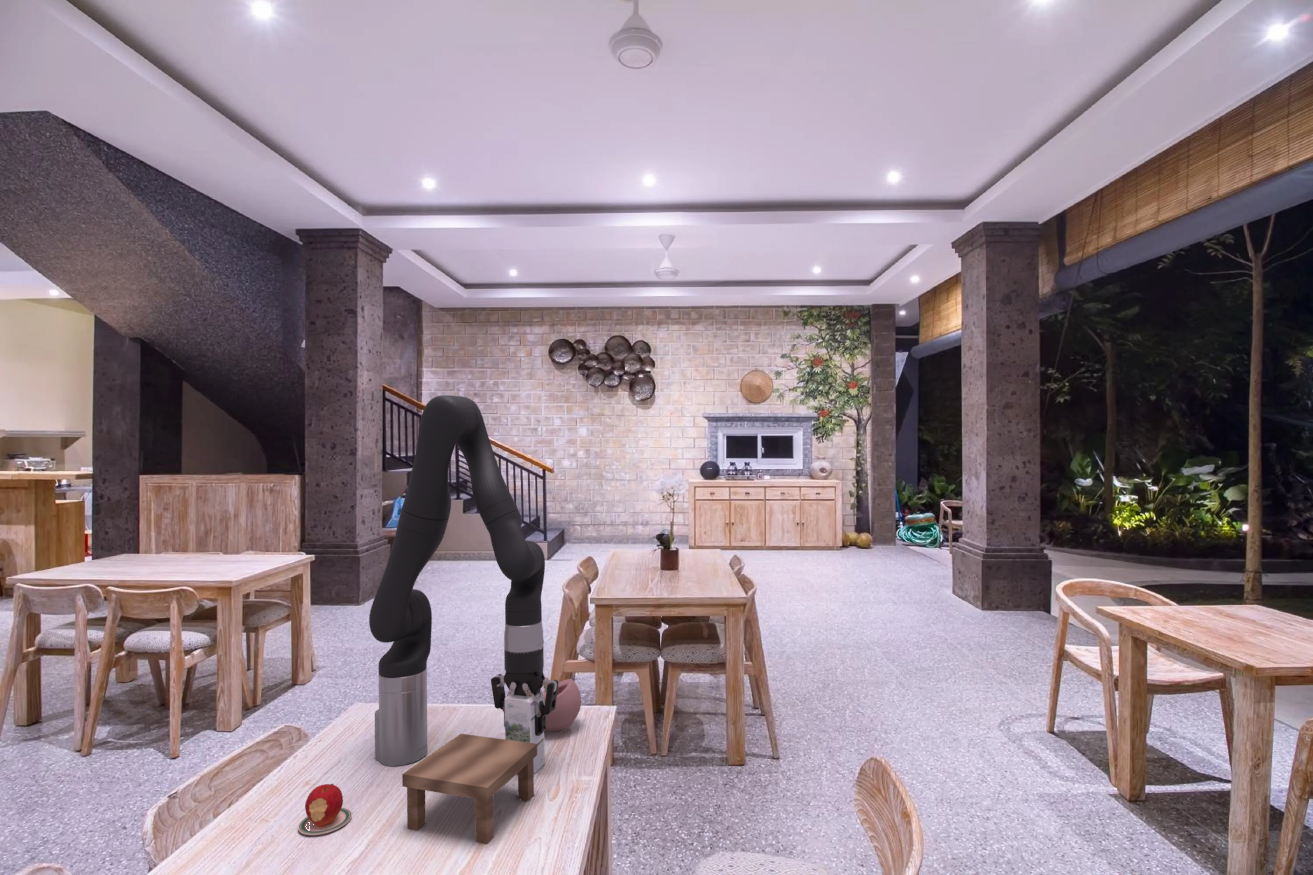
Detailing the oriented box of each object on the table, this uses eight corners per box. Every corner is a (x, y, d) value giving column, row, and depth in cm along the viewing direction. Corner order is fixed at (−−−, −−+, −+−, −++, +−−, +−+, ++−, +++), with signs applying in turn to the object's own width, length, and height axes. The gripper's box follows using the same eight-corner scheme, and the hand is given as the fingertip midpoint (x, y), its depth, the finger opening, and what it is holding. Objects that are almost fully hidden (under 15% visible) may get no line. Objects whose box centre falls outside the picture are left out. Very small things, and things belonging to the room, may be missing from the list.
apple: (358, 824, 107) (358, 784, 108) (305, 843, 102) (304, 802, 102) (343, 805, 113) (343, 767, 114) (292, 823, 108) (292, 783, 108)
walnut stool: (402, 829, 105) (402, 773, 106) (461, 782, 120) (460, 733, 121) (487, 846, 100) (487, 787, 101) (537, 794, 115) (537, 743, 116)
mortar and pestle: (531, 719, 149) (530, 669, 149) (583, 717, 150) (582, 667, 150) (522, 742, 137) (522, 687, 137) (579, 739, 138) (578, 685, 138)
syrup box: (546, 763, 127) (544, 689, 128) (530, 777, 122) (529, 700, 122) (520, 759, 129) (519, 686, 129) (504, 773, 123) (503, 697, 124)
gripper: (481, 647, 125) (482, 736, 124) (547, 653, 120) (549, 745, 120) (502, 637, 132) (503, 720, 131) (565, 642, 127) (567, 728, 127)
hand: (525, 731), depth 125 cm, fingers closed on syrup box, 5 cm apart
